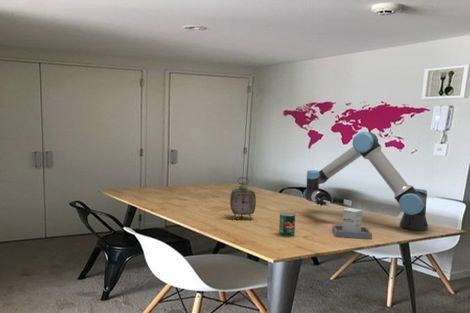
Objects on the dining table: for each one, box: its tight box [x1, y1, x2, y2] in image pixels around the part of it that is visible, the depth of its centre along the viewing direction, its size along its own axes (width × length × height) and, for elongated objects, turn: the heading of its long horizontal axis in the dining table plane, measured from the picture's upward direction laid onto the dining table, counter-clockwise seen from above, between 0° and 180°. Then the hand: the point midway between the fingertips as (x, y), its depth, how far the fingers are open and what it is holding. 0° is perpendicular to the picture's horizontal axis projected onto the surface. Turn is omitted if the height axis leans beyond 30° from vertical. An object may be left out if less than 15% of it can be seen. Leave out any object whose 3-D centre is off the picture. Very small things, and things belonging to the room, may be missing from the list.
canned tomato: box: [278, 212, 296, 238], centre depth 209 cm, size 8×8×11 cm
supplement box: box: [341, 207, 363, 233], centre depth 216 cm, size 7×7×13 cm
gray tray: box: [331, 224, 373, 240], centre depth 216 cm, size 18×14×3 cm
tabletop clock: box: [229, 176, 257, 221], centre depth 244 cm, size 14×9×25 cm, turn 95°
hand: (340, 204), depth 227 cm, fingers open, 13 cm apart
